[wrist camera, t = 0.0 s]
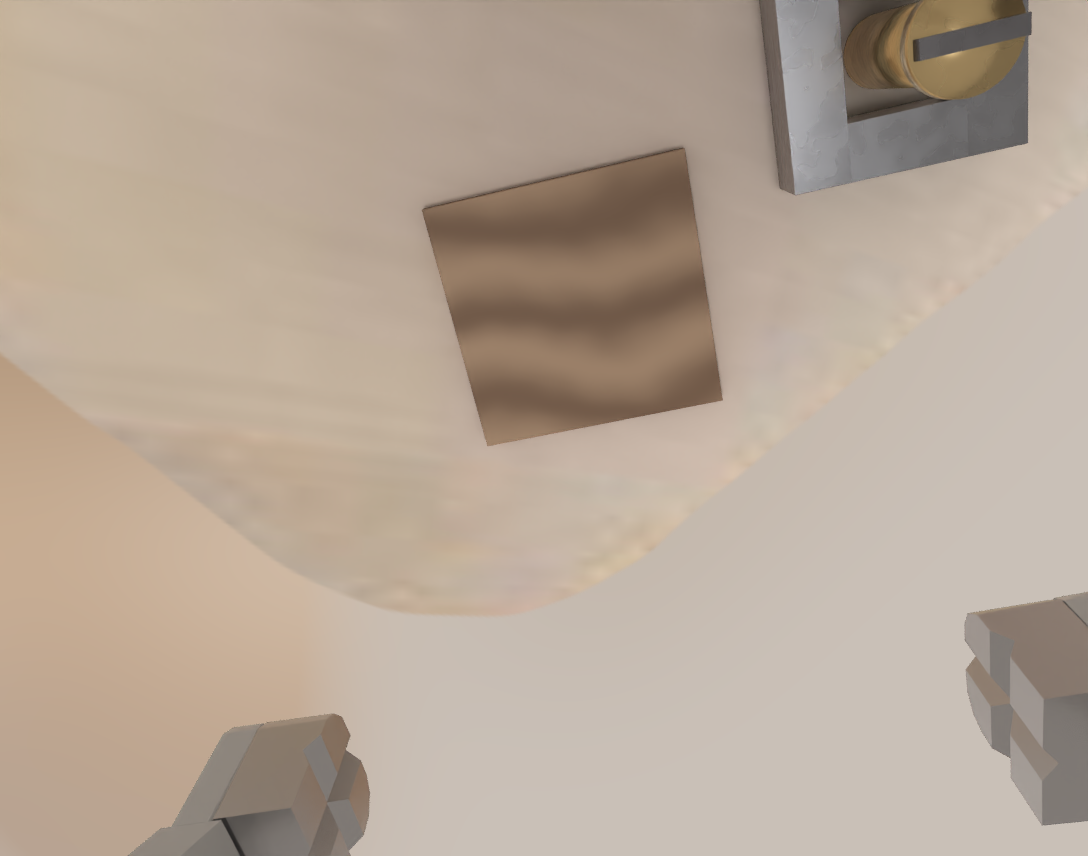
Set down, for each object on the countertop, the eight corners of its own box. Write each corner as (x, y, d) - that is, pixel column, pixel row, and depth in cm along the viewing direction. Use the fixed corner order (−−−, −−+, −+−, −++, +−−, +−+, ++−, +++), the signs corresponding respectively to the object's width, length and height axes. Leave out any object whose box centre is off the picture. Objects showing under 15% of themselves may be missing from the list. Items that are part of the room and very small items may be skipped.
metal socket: (754, -44, 48) (769, -56, 45) (992, -106, 47) (1028, -124, 43) (780, 188, 53) (795, 195, 50) (995, 139, 52) (1027, 143, 48)
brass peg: (830, 14, 49) (912, -13, 37) (922, -9, 49) (1036, -44, 37) (837, 108, 51) (918, 111, 39) (926, 87, 51) (1035, 84, 39)
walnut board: (424, 208, 55) (422, 210, 54) (682, 147, 53) (684, 148, 52) (488, 440, 61) (487, 446, 61) (720, 395, 59) (722, 400, 58)
